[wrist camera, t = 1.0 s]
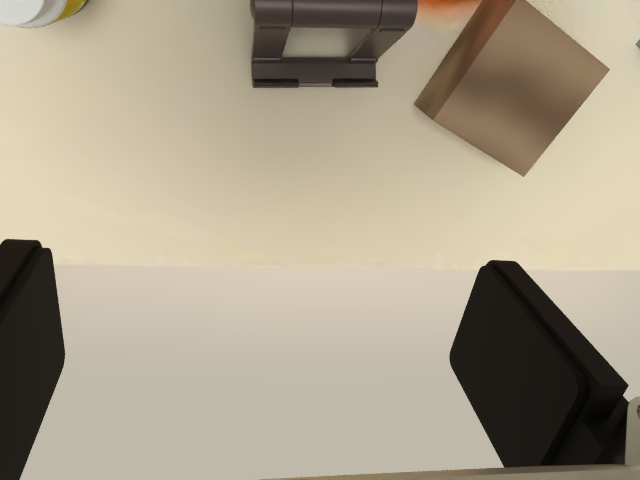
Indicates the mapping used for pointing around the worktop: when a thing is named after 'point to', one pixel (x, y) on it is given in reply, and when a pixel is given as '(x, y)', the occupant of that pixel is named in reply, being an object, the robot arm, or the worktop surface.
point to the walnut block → (510, 83)
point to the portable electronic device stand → (324, 12)
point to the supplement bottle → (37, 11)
